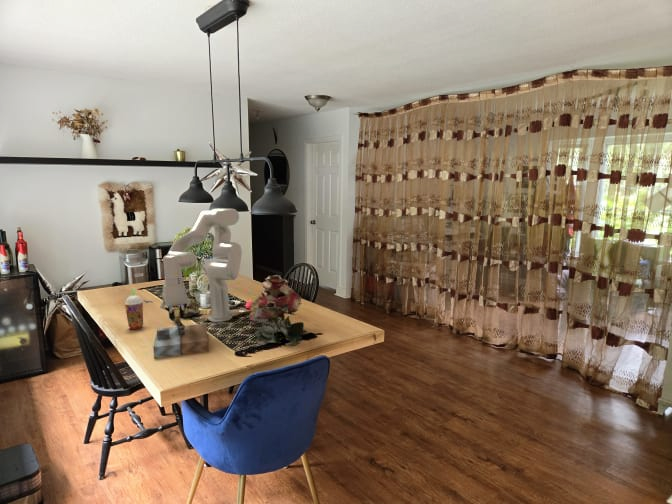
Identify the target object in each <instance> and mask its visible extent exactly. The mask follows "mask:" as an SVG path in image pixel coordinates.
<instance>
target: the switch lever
mask: <svg viewBox="0 0 672 504" xmlns="http://www.w3.org/2000/svg"><path fill="white" fill-rule="evenodd" d="M172 312H173V314H174V321H172V323H174V325H175V327H177V329H184V328H185V326H186V325H185V324H183V322H182V319H181V313H180V308H178V307H177V308H176V307H172Z"/></svg>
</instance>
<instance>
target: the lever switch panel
mask: <svg viewBox="0 0 672 504" xmlns="http://www.w3.org/2000/svg"><path fill="white" fill-rule="evenodd" d="M207 332H208V330H207V323H197V324H188V325H185V328H184V329H177V326H173V327H170V326H169V327H163V328H157V330H156V333H155V339H154V341H153V346H152V347H153V358H154V359H160V358H161V359H162V358H168V357H175V356H182V355H189V354H190V355H191V354H197V353H205V352H209V341H208V339H209V338H208V333H207Z"/></svg>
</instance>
